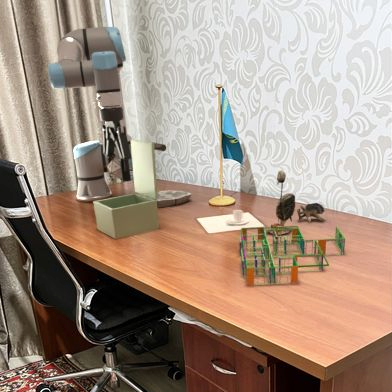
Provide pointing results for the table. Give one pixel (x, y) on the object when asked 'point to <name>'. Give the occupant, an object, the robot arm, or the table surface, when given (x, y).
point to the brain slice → (171, 198)
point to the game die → (115, 168)
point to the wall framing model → (295, 239)
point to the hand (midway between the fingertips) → (120, 179)
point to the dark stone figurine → (283, 206)
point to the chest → (126, 215)
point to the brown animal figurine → (311, 211)
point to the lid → (145, 167)
